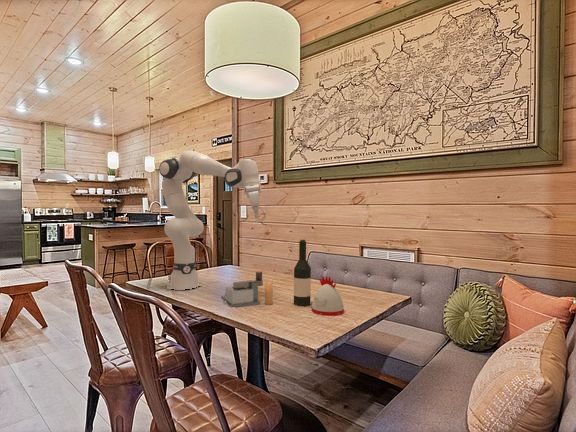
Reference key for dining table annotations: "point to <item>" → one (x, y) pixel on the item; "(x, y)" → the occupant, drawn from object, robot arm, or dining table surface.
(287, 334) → the dining table surface
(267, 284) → the orange rounded cylinder
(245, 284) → the crank handle
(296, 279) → the wine bottle
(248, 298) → the mount
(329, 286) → the kitchen timer
